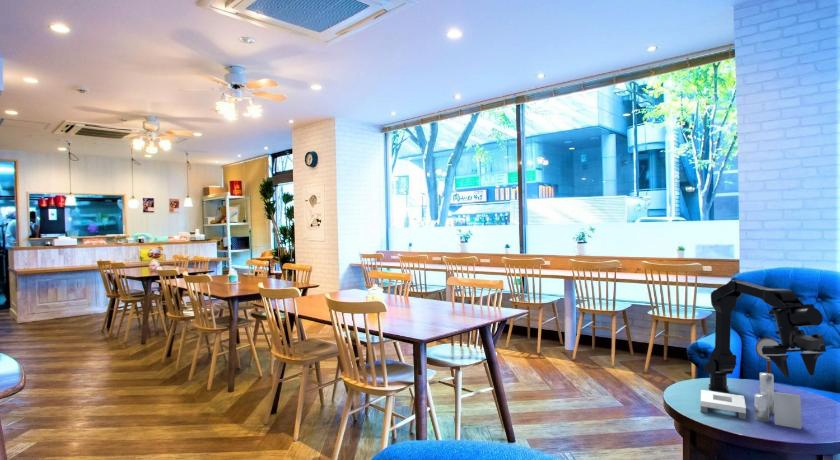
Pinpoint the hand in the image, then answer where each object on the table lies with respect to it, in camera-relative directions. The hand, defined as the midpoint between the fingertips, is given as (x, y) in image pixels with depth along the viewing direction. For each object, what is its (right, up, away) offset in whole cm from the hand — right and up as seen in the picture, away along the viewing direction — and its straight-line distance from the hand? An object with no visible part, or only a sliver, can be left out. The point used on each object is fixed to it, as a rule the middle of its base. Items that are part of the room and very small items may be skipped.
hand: (799, 376), depth 153 cm
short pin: (-9, -16, +4) cm, 19 cm away
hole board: (-17, -16, +13) cm, 26 cm away
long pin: (-3, -16, +11) cm, 19 cm away
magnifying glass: (+15, -15, +34) cm, 40 cm away
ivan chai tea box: (-4, -16, 0) cm, 16 cm away
